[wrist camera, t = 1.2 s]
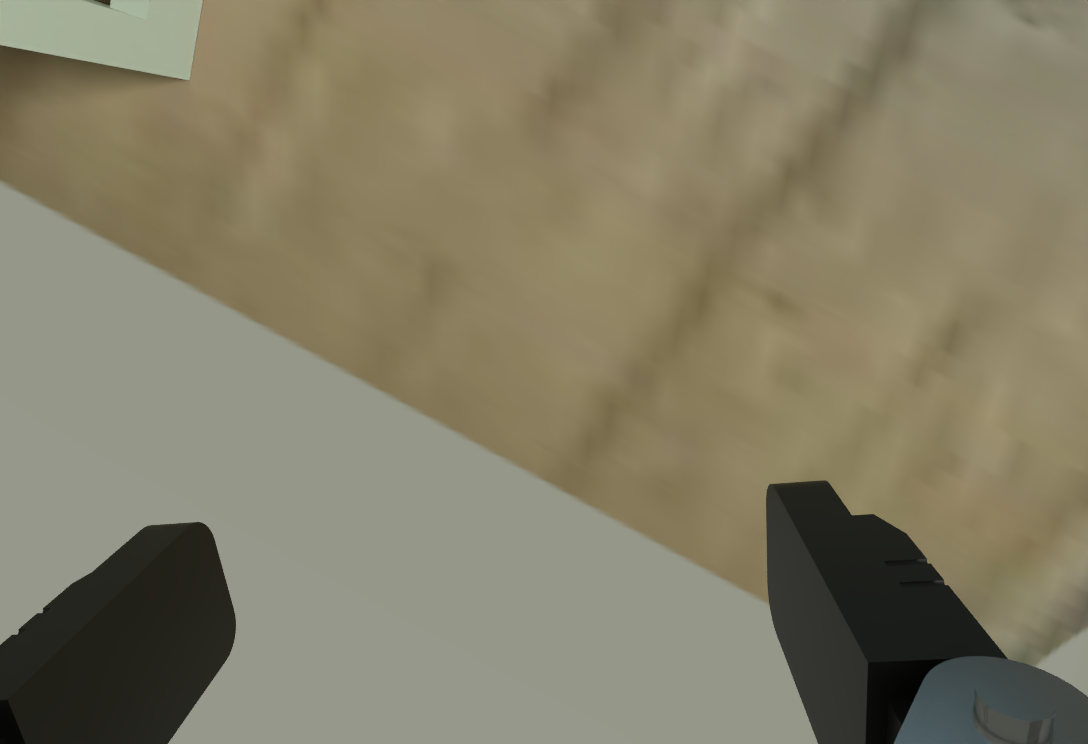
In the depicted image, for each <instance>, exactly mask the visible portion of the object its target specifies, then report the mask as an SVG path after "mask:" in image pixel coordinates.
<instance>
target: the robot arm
mask: <svg viewBox="0 0 1088 744" xmlns="http://www.w3.org/2000/svg"><path fill="white" fill-rule="evenodd" d="M766 521H767V579H768V596H769V604H770V610H771V615H772V620H773V624H774V628H775V631H776V634H777V637H778V639H779V642H780V644H781V647H782V650H783V652H784V655H785V658H786V660H787V663H788V665H789V668H790V670H791V673H792V676H793V679H794V681H795V684H796V687H797V689H798V692H799V694H800V697H801V699H802V702H803V705H804V708H805V710H806V713H807V716H808V718H809V721H810V723H811V726H812V729H813V731H814V734H815V736H816V739H817V742H818V744H1088V697H1087V696H1086V695H1085V694H1083V693H1082V692H1081V691H1079V690H1078V689H1077V688H1075V687H1074V686H1072V685H1071V684H1069V683H1067V682H1065V681H1064V680H1062V679H1060V678H1058V677H1057V676H1054V675H1052V674H1050V673H1048V672H1046V671H1044V670H1041V669H1039V668H1036V667H1033V666H1030V665H1028V664H1024V663H1020V662H1017V661H1013V660H1008V659H1007V657H1006V656H1005V655H1004V654H1003V652H1002V651H1001V650H1000V649H999V647H998V646H997V645H996V644H995V642H994V641H993V640H992V639H991V638H990V636H989V635H988V634H987V633H986V631H985V630H984V629H983V628H982V626H981V625H980V624H979V623H978V621H977V620H976V619H975V618H974V617H973V615H972V614H971V613H970V612H969V610H968V609H967V608H966V607H965V605H964V604H963V603H962V602H961V600H960V599H959V598H958V597H957V596H956V594H955V593H954V592H953V591H952V589H951V588H950V587H949V586H948V585H945V584H944V579H943V578H942V577H941V576H940V574H939V573H938V572H937V571H936V570H935V568H934V567H933V566H932V565H931V564H928V563H927V558H926V557H925V556H924V555H923V553H922V552H921V551H920V550H919V549H918V547H917V546H916V545H915V544H914V542H913V541H912V540H911V539H910V537H909V536H908V535H907V534H906V533H904V532H903V531H901V530H899V529H898V528H896V527H894V526H892V525H891V524H889V523H887V522H886V521H884V520H882V519H881V518H879V517H877V516H876V515H874V514H869V515H853V516H852V515H851V514H850V512H849V511H848V509H847V508H846V506H845V505H844V504H843V502H842V501H841V499H840V498H839V496H838V495H837V494H836V492H835V491H834V489H833V488H832V486H831V485H830V484H829V483H828V482H827V481H809V482H795V483H780V484H770V485H769V486H768V489H767V495H766ZM235 631H236V620H235V613H234V608H233V605H232V601H231V598H230V594H229V590H228V587H227V583H226V580H225V576H224V572H223V569H222V565H221V562H220V558H219V554H218V551H217V547H216V544H215V540H214V537H213V534H212V532H211V531H210V529H209V528H208V527H207V526H206V525H205V524H203V523H200V522H194V523H179V524H164V525H151V526H147V527H145V528H143V529H142V530H140V531H139V532H138V533H137V534H136V535H135V536H133V537H132V538H131V539H130V540H129V541H128V542H126V544H124V545H123V546H122V547H121V548H120V549H118V550H117V551H116V552H115V553H114V554H113V555H111V556H110V557H109V558H108V559H107V560H106V561H105V562H104V563H102V564H101V565H100V566H99V567H98V568H96V569H95V570H94V571H93V572H92V573H90V574H88V575H86V576H85V577H83V578H81V579H79V580H78V581H76V582H74V583H72V584H71V585H70V586H69V587H68V588H66V590H64V591H63V592H62V593H61V594H59V595H58V596H57V597H56V598H55V599H54V600H52V601H51V602H50V603H49V604H48V605H47V606H45V607H44V608H43V613H38V614H36V615H35V616H34V617H32V618H31V619H30V620H29V621H28V622H27V623H26V624H24V625H23V626H22V627H21V628H20V629H19V633H18V635H11V636H10V637H9V638H8V639H7V640H6V641H4V642H3V643H2V644H1V645H0V744H168V743H169V741H170V739H171V738H172V737H173V735H174V734H175V733H176V731H177V730H178V728H179V727H180V725H181V724H182V723H183V721H184V720H185V718H186V717H187V715H188V714H189V713H190V711H191V710H192V708H193V707H194V705H195V704H196V703H197V701H198V700H199V698H200V697H201V695H202V694H203V693H204V691H205V690H206V688H207V687H208V685H209V684H210V683H211V681H212V680H213V678H214V677H215V675H216V674H217V673H218V671H219V670H220V668H221V667H222V666H223V664H224V663H225V661H226V660H227V658H228V656H229V654H230V652H231V649H232V647H233V643H234V639H235Z"/></svg>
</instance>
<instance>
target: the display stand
mask: <svg viewBox="0 0 1088 744" xmlns="http://www.w3.org/2000/svg"><path fill="white" fill-rule="evenodd" d="M202 2H203V0H111V2H110V5H107V4H104V3H101V2H98V1H96V0H0V45H3V46H8V47H14V48H19V49H24V50H30V51H35V52H40V53H46V54H51V55H56V56H62V57H67V58H72V59H78V60H83V61H88V62H94V63H99V64H104V65H110V66H115V67H120V68H126V69H131V70H136V71H142V72H147V73H152V74H158V75H163V76H168V77H174V78H179V79H184V80H190V74H191V68H192V62H193V56H194V50H195V44H196V38H197V32H198V26H199V20H200V14H201V8H202Z"/></svg>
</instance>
